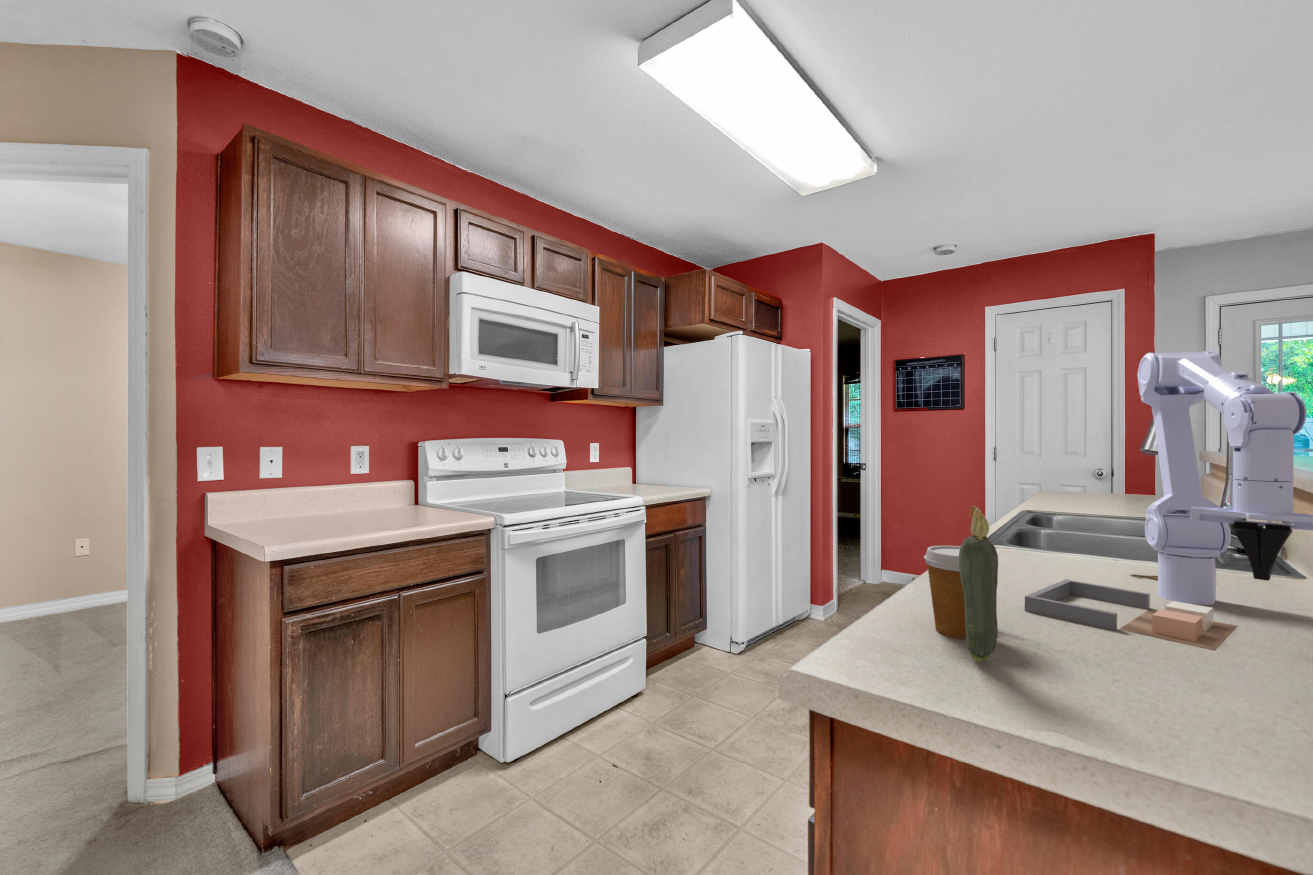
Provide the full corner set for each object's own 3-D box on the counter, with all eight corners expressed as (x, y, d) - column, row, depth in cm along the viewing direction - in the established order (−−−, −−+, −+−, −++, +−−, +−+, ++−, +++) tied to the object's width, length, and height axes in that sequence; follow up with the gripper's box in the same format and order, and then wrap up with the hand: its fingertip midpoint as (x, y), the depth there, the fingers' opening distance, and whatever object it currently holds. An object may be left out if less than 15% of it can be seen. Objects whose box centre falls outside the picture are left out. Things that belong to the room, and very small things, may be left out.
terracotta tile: (1160, 625, 84) (1160, 608, 84) (1202, 634, 81) (1202, 616, 81) (1152, 632, 82) (1152, 614, 82) (1194, 641, 78) (1195, 622, 78)
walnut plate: (1149, 616, 92) (1149, 609, 92) (1237, 633, 84) (1237, 625, 84) (1118, 637, 83) (1118, 629, 83) (1214, 659, 75) (1214, 649, 75)
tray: (1065, 598, 102) (1066, 579, 102) (1149, 615, 93) (1149, 593, 93) (1024, 617, 92) (1024, 596, 92) (1114, 638, 82) (1114, 614, 82)
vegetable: (1003, 671, 71) (1003, 509, 71) (964, 668, 72) (965, 508, 72) (989, 657, 75) (990, 505, 75) (953, 654, 76) (954, 504, 76)
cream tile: (1172, 616, 88) (1172, 600, 88) (1212, 624, 85) (1213, 607, 85) (1165, 622, 86) (1165, 605, 86) (1206, 630, 82) (1206, 613, 82)
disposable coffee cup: (991, 648, 78) (991, 560, 78) (916, 633, 84) (917, 552, 84) (1000, 629, 86) (1000, 549, 86) (931, 617, 92) (931, 542, 92)
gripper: (1185, 478, 83) (1184, 572, 83) (1342, 485, 71) (1341, 595, 71) (1196, 476, 87) (1196, 565, 87) (1346, 482, 75) (1345, 586, 75)
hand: (1262, 578), depth 79 cm, fingers closed
